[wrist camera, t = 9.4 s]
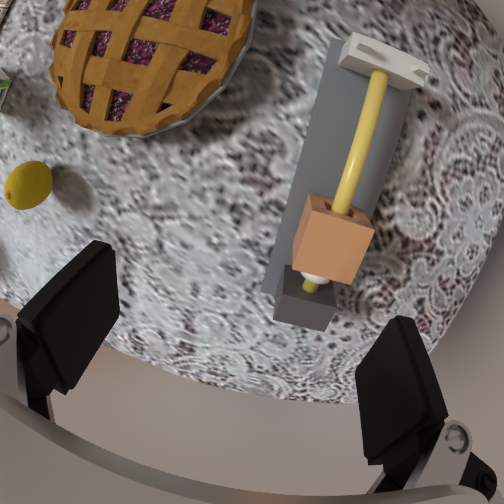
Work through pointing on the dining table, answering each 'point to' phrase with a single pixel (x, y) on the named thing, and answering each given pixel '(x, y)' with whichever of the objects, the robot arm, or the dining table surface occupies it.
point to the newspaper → (4, 8)
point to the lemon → (28, 185)
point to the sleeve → (330, 240)
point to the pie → (146, 60)
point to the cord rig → (342, 161)
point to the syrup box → (3, 85)
